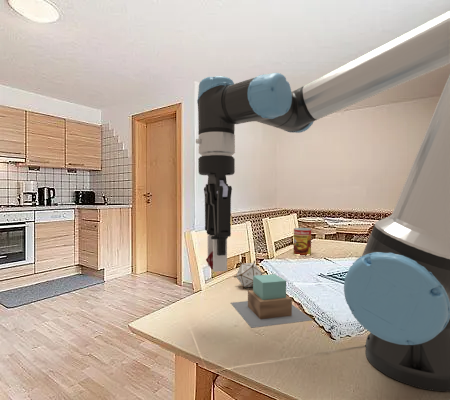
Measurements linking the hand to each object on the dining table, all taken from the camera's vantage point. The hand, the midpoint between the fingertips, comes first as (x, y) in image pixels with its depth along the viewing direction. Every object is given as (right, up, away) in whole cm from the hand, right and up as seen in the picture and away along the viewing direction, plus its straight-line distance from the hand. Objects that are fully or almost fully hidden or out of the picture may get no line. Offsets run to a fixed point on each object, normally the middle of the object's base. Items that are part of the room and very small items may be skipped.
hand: (216, 267), depth 64 cm
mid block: (+12, -9, +10) cm, 19 cm away
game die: (+9, -13, +29) cm, 33 cm away
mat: (+12, -13, +11) cm, 21 cm away
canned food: (+38, -11, +78) cm, 88 cm away
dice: (0, -1, 0) cm, 1 cm away
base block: (+12, -13, +11) cm, 21 cm away
